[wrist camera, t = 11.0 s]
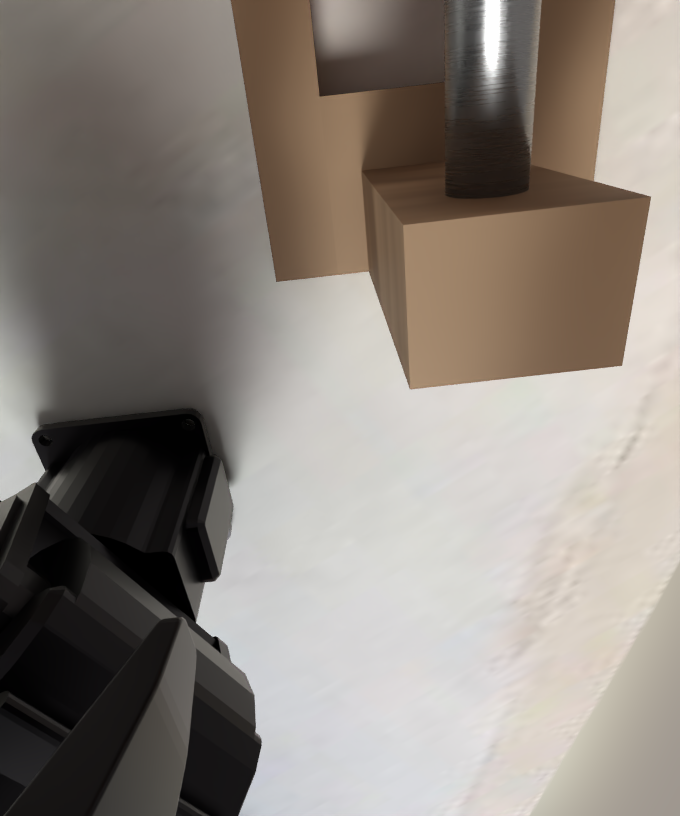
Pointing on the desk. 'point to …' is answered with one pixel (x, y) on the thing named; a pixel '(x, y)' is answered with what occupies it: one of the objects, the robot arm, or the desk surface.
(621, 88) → the desk surface
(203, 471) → the robot arm
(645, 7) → the desk surface
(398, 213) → the stand
